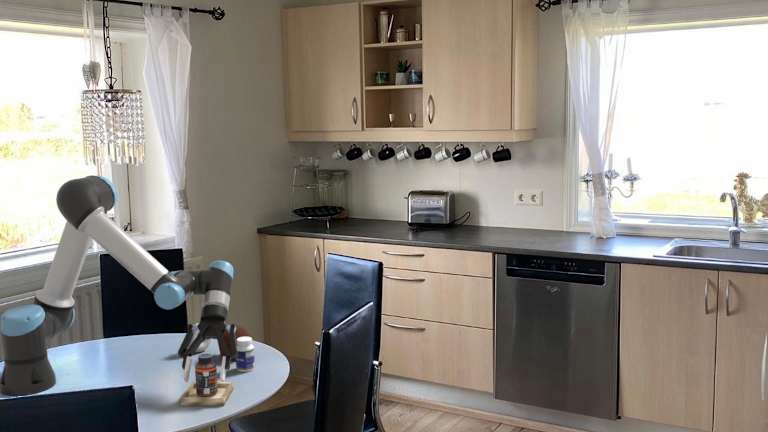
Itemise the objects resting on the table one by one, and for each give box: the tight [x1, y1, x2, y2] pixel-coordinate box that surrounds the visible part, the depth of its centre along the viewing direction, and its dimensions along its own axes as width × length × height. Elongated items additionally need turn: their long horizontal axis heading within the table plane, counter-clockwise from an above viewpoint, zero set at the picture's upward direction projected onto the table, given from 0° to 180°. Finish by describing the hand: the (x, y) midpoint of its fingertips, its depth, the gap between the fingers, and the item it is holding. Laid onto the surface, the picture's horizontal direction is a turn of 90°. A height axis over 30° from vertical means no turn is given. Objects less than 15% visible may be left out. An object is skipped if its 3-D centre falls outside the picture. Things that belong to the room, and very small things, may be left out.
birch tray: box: [179, 381, 234, 407], centre depth 214 cm, size 12×12×2 cm
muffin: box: [216, 325, 252, 362], centre depth 248 cm, size 12×11×10 cm
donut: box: [188, 322, 212, 354], centre depth 253 cm, size 10×3×10 cm, turn 146°
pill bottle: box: [235, 336, 256, 373], centre depth 236 cm, size 6×6×10 cm
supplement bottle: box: [194, 353, 218, 397], centre depth 213 cm, size 6×6×11 cm
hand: (203, 379), depth 210 cm, fingers open, 9 cm apart
